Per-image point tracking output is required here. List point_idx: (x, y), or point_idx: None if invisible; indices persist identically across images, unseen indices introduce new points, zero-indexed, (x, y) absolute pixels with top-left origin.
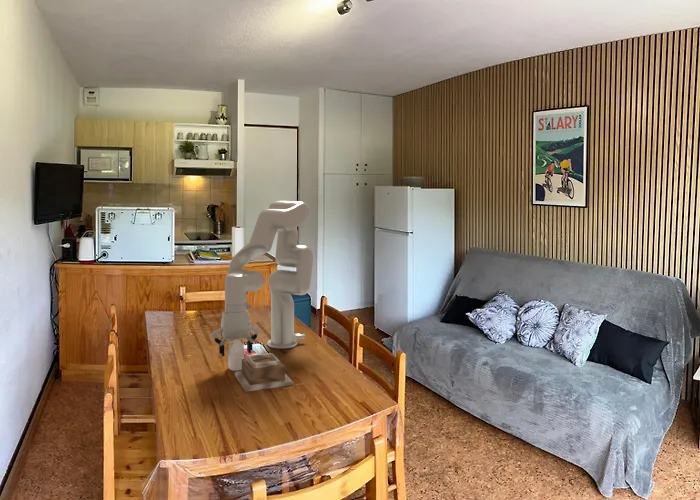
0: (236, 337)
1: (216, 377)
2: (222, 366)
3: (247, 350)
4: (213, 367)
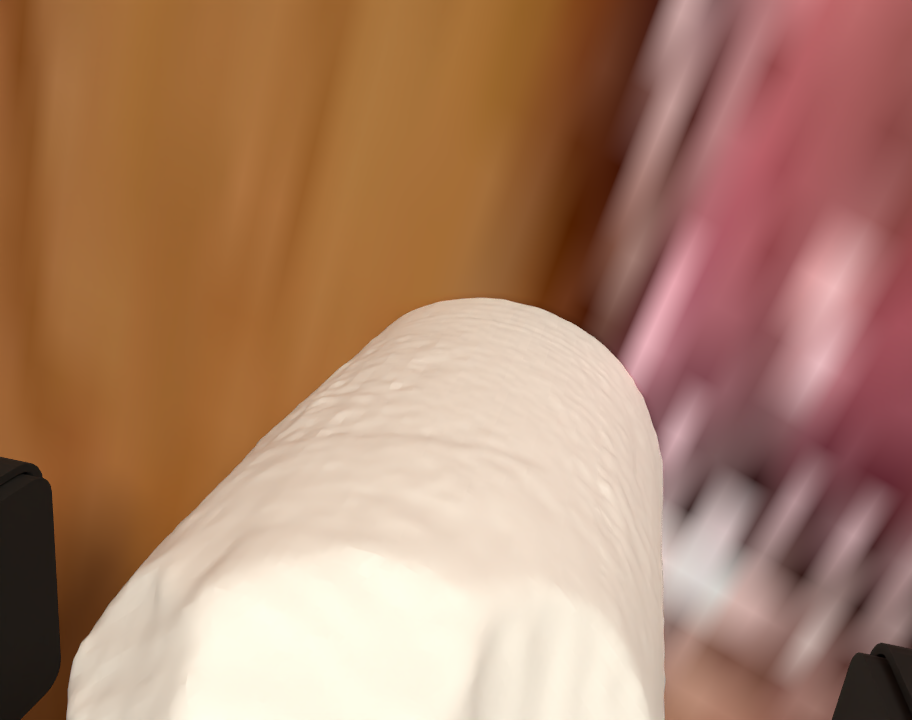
0: None
1: None
2: (271, 219)
3: (852, 706)
4: (98, 185)
